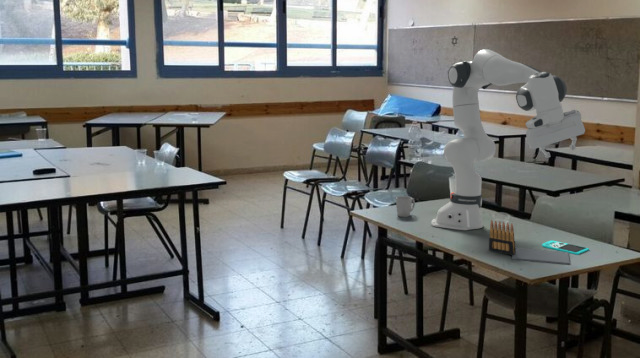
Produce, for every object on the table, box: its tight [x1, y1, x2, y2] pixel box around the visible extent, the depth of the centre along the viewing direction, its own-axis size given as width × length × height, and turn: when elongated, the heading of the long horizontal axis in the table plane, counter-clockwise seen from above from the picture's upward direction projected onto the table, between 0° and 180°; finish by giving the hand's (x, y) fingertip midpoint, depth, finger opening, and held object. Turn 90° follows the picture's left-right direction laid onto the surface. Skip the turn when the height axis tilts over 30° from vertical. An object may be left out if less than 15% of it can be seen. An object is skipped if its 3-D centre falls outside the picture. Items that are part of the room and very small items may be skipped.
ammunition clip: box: [488, 219, 516, 256], centre depth 256 cm, size 11×2×12 cm, turn 41°
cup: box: [395, 195, 416, 218], centre depth 315 cm, size 8×10×8 cm
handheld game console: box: [541, 239, 590, 256], centre depth 264 cm, size 10×16×1 cm, turn 43°
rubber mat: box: [511, 247, 571, 265], centre depth 253 cm, size 20×14×1 cm
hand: (560, 153), depth 243 cm, fingers open, 8 cm apart
